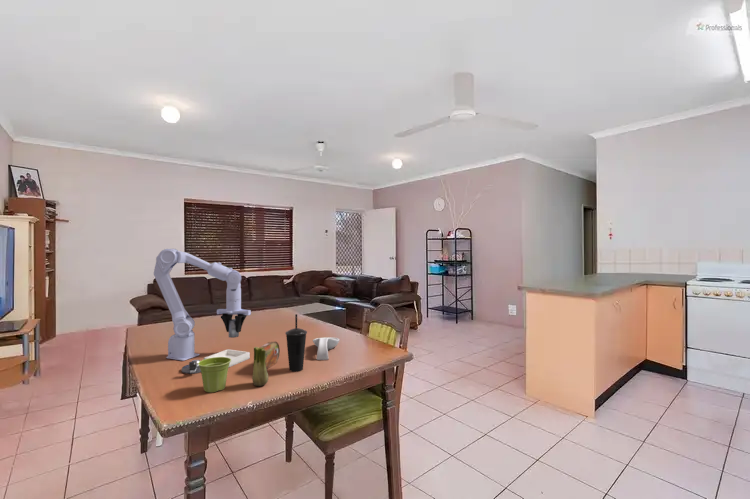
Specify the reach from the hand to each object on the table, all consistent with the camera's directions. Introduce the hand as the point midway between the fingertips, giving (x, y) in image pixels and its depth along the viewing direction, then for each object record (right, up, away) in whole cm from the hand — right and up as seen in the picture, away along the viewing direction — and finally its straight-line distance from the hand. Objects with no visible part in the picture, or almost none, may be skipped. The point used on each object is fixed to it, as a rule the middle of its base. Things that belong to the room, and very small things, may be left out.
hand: (233, 331), depth 147 cm
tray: (+2, -9, -11) cm, 15 cm away
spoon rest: (+38, -9, +2) cm, 39 cm away
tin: (+19, -9, -17) cm, 27 cm away
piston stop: (0, -2, 0) cm, 2 cm away
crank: (-4, -8, -23) cm, 25 cm away
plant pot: (+9, -9, -38) cm, 40 cm away
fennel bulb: (+22, -9, -34) cm, 42 cm away
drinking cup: (+31, -9, -20) cm, 38 cm away
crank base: (-6, -9, -20) cm, 23 cm away
